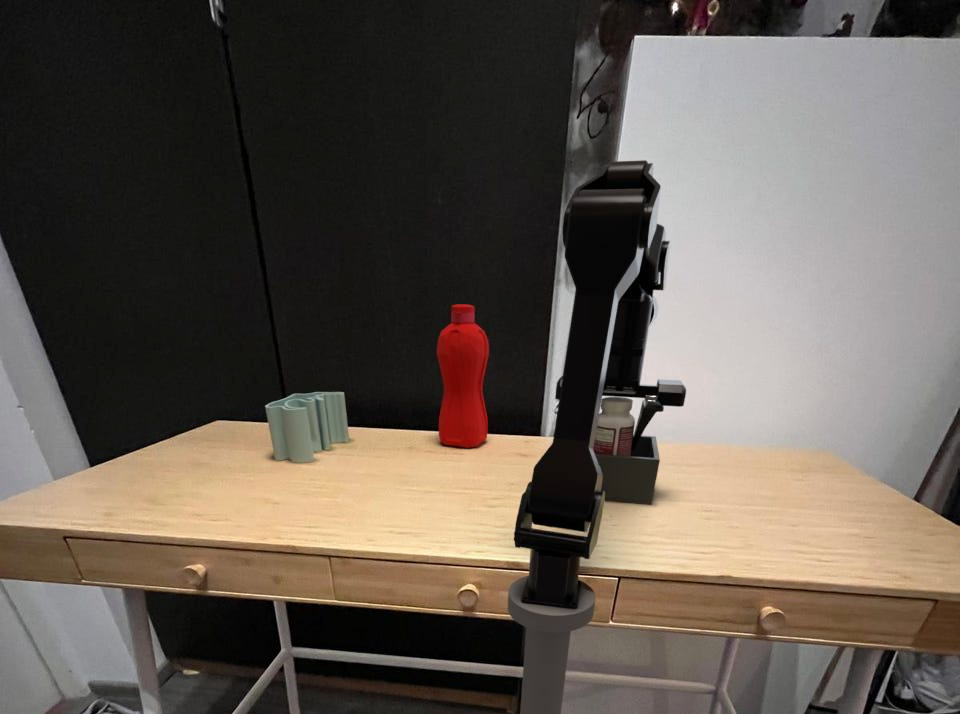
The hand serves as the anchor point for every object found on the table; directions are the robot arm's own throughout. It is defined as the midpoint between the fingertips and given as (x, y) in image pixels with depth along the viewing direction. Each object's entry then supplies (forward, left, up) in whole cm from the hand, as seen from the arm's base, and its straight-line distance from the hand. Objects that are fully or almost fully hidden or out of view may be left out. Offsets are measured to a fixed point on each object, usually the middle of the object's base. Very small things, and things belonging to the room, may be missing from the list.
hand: (611, 448), depth 90 cm
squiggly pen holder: (+11, +58, -7) cm, 60 cm away
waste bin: (+3, 0, -7) cm, 8 cm away
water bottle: (+25, +30, -7) cm, 40 cm away
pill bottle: (0, 0, -4) cm, 4 cm away
